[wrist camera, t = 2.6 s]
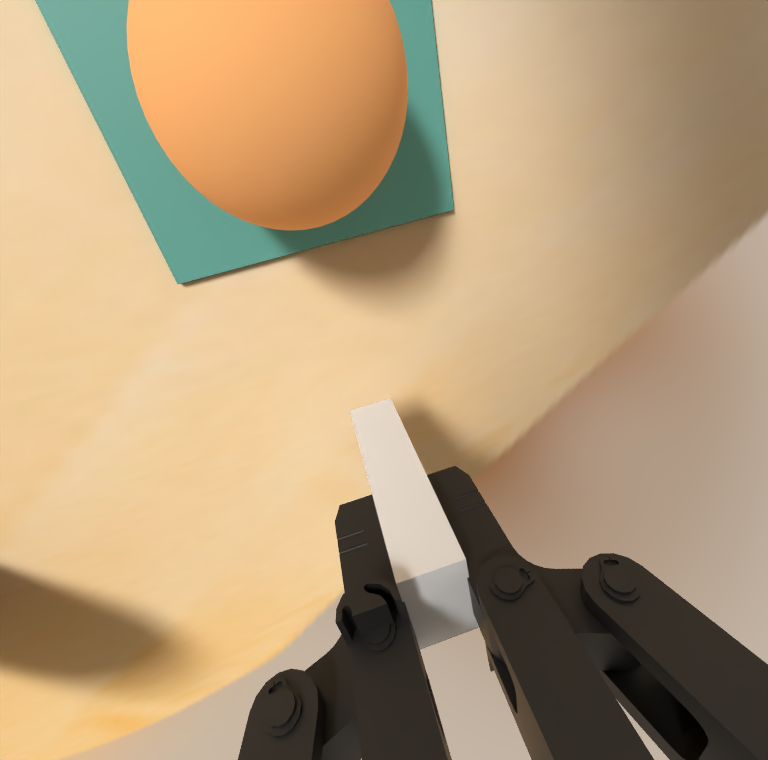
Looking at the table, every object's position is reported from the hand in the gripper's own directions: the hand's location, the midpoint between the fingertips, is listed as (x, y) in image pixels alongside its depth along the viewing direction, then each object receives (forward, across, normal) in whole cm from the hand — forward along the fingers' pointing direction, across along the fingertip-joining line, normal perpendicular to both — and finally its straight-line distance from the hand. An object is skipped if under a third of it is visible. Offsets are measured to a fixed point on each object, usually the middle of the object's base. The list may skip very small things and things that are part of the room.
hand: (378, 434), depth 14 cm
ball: (0, 0, +10) cm, 10 cm away
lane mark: (+3, 0, +21) cm, 22 cm away
